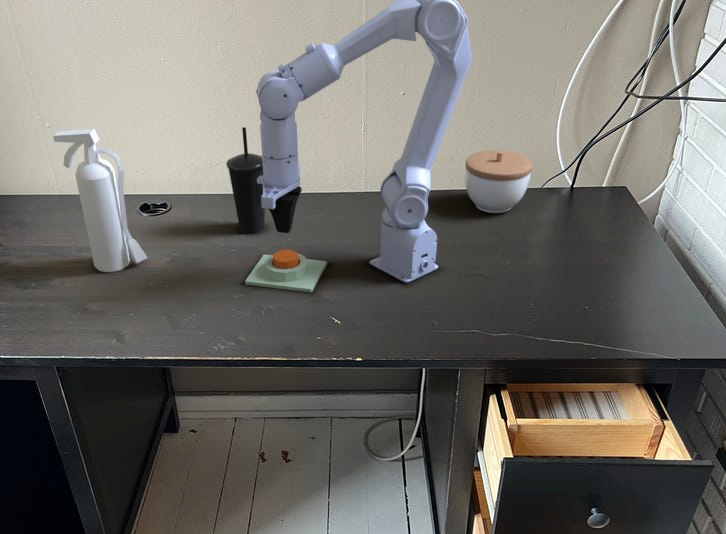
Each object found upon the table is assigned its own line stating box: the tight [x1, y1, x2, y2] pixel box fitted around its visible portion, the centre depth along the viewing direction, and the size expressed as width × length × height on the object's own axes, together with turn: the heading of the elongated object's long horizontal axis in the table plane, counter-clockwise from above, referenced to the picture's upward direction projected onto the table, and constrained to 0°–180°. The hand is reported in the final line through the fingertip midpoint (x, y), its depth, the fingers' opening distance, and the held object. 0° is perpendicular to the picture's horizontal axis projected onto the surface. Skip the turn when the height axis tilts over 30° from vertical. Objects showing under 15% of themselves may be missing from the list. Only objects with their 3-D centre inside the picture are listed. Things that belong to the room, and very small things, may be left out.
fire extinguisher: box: [52, 128, 149, 273], centre depth 128 cm, size 7×12×25 cm, turn 77°
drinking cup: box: [225, 126, 266, 235], centre depth 139 cm, size 8×8×20 cm
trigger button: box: [272, 249, 299, 269], centre depth 128 cm, size 4×4×2 cm
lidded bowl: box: [464, 149, 534, 214], centre depth 145 cm, size 13×13×11 cm
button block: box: [244, 253, 328, 293], centre depth 129 cm, size 12×10×2 cm
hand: (284, 230), depth 124 cm, fingers closed
